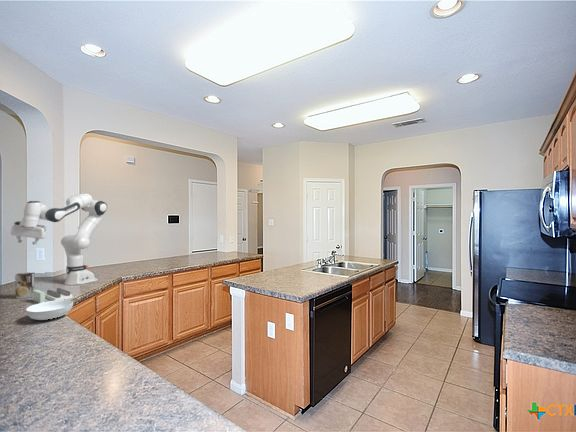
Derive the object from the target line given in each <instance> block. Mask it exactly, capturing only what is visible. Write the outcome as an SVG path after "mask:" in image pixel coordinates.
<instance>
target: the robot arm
mask: <svg viewBox="0 0 576 432" xmlns="http://www.w3.org/2000/svg"><path fill="white" fill-rule="evenodd" d="M65 204H66V205H65V206H64V207H60V208H59V207H56V208H55V207H50V206H47V205H45V204H43V203H42V202H41V201H39V200H29V201H27V202H26V203H25V206H24V210H23V217H22V219H21V220H18V221H13V223H12V224H13V225H12V226H11V230H10V235H11V236H15V237H16V239H17V243H19V244H20V243H21V244H22V242H23V240H22V239H21V238H22V237H23V238H33V239H34V241H32V245H37V242H39V240H40V239H46V235H47V232H46V231H47V227H46V226H45V225H43V224H42V225H41V224H40V220H42V221H43V220H44V221H48V222H52V223H59V222H61V220H63V218H66V216H68V215H71V214H74V213H75V212H77V211H78V210H80V209H81V210H82V211H84V212H87V213H88V215H87V216H86V217H85V219H84V220H83V221H82V222H81V223H80V224H79V225H78V227H77V229H78V231H77V233H76V234H69V235H64V236H63V237H62V238H61V240H60V244H61V246H62V248H64V252H65V255H66V269H65V272H66V276H65V281H64V285H66V286H67V285H68V286H74V285H75V286H77V285H78V286H79V285H80V286H81V285H85V284H89V283H93V282H96V281H97V282H98V278H97V277H95V274H94V272H92V271H90V270H88V269H89V267H90V266H89V265H87V264H84V263H85V262H84V261H85V257H84V254H83V253H82V251H81V250H84V249H88V247H90V244H91V241H90V238H91V236H92V234H94V232H95V230H96V229H97V228H98V227H99V225H100V224H101V222H102V220H103V215H104V214H105V213H106V212H107V209H108V204H107V202H105V201H103V200H97V199H93V197H92V195H91V194H89V193H87V192H86V193H80V194H76V195H73V196H70V197H68V198H67V199H66V201H65Z"/></svg>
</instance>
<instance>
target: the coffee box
mask: <svg viewBox="0 0 576 432" xmlns="http://www.w3.org/2000/svg"><path fill="white" fill-rule="evenodd" d="M14 278H15V279H14V282H15V284H14V285H15V287H14V288H15V300H18V299H28V298H33V290H36V287H35V285H36V284H35V272H23V273H21V272H19V273H17V274H15V275H14Z"/></svg>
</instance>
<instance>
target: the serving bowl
mask: <svg viewBox="0 0 576 432" xmlns="http://www.w3.org/2000/svg"><path fill="white" fill-rule="evenodd" d="M73 306H74V301H73V300H70V299H65V300H54V301H53V300H48V301H45V302H43V303H36V304H32V305H30V306H28V307H26V309H25V311H26V315H27V316H28V318H30V319H32V320H36V321H49V320H48V319H50V320H54V319H53V318H55V319H57V317H58V318H60V317H62V316H65V315H66V314H68V313H69V312H70V311H71V310H72V309H73Z"/></svg>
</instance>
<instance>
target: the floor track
mask: <svg viewBox="0 0 576 432" xmlns="http://www.w3.org/2000/svg"><path fill="white" fill-rule="evenodd" d="M69 298H70V299H73V294H71V291H69V290H67V289H63V288H60V287H57V288H56V291H55V290H52V289H47V290H46V293H45V299H48V300H49V301H54V300H64V299H65V300H70V299H69Z"/></svg>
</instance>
